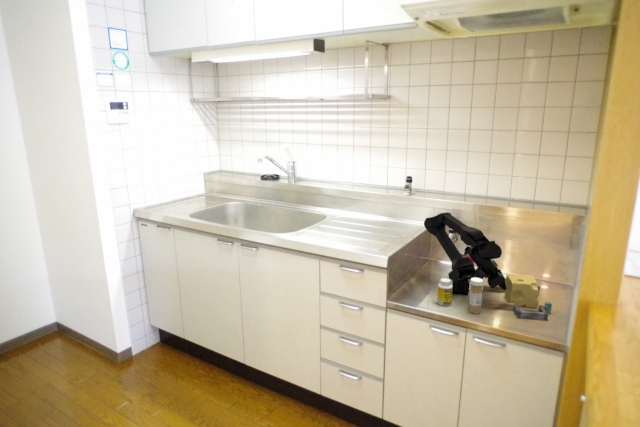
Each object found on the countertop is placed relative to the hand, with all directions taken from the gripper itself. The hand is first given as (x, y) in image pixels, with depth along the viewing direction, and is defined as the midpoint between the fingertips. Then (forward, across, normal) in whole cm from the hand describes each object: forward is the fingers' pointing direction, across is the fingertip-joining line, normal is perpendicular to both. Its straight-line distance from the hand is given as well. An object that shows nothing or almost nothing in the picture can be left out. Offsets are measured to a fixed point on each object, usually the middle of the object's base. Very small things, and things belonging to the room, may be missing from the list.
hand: (505, 289), depth 169 cm
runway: (+7, -2, 0) cm, 7 cm away
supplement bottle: (-10, +5, -22) cm, 25 cm away
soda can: (-3, -22, -13) cm, 26 cm away
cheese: (+9, -2, +1) cm, 9 cm away
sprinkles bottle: (-3, +10, -14) cm, 17 cm away
